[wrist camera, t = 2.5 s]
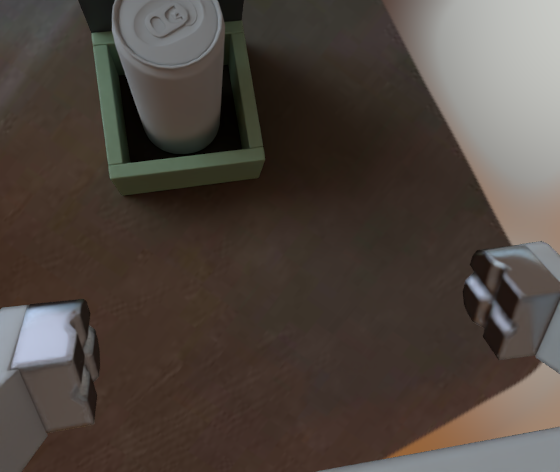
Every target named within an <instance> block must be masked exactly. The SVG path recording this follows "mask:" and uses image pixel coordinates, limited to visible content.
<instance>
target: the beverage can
mask: <svg viewBox="0 0 560 472" xmlns="http://www.w3.org/2000/svg"><path fill="white" fill-rule="evenodd" d="M112 33H113V37H114V42H115V45H116V48H117V51H118V54H119V57H120V60H121V63H122V66H123V69H124V72H125V75H126V78H127V81H128V84H129V87H130V90H131V93H132V95H133V98H134V101H135V104H136V107H137V110H138V113H139V116H140V119H141V122H142V125H143V128H144V131H145V132H146V134H147V136H148V138H149V139H150V141H151V142H152V143H153V144H154V145H155V146H157V147H158V148H160V149H162V150H163V151H166V152H170V153H173V154H189V153H195V152H197V151H200V150H202V149H204V148H206V147H207V146H208V145H209V144H210V143H211V142H212V141H213V140H214V138H215V137H216V135H217V132H218V129H219V126H220V111H221V94H222V76H223V59H224V41H225V23H224V19H223V15H222V11H221V9H220V5H219V2H218V0H115V2H114V4H113V11H112Z"/></svg>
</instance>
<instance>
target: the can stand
mask: <svg viewBox="0 0 560 472" xmlns="http://www.w3.org/2000/svg"><path fill="white" fill-rule="evenodd" d="M78 1H79V3H80V6H81V8H82V11H83V13H84V16H85V18H86V21H87V23H88V26H89V28H90V30H91V33H92V34H91V35H92V43H93V51H94V59H95V66H96V74H97V82H98V90H99V97H100V105H101V113H102V121H103V128H104V136H105V144H106V152H107V159H108V165H109V175H110V179H111V181H112V182H113V184H114V185H115V186H116V188H117V189H118V191H119V192H120V194H121V195H122V196H124V195H132V194H140V193H147V192H155V191H163V190H170V189H178V188H186V187H193V186H201V185H209V184H216V183H224V182H231V181H239V180H247V179H254V178H259V176H260V173H261V170H262V167H263V164H264V162H265V154H264V148H263V142H262V136H261V130H260V124H259V118H258V113H257V107H256V101H255V95H254V89H253V83H252V77H251V71H250V65H249V60H248V54H247V48H246V42H245V36H244V30H243V24H242V12H243V3H244V0H218V2H219V5H220V9H221V11H222V15H223V19H224V23H225V41H224V59H223V65H228V68H229V74H230V80H231V86H232V92H233V98H234V104H235V110H236V116H237V122H238V129H239V135H240V141H241V147H242V149H241V150H233V151H225V152H216V153H208V154H200V155H192V156H183V157H175V158H167V159H159V160H151V161H142V162H134V163H130V155H129V148H128V141H127V133H126V126H125V118H124V111H123V104H122V96H121V89H120V81H119V76H118V75H125V72H124V69H123V66H122V63H121V60H120V57H119V54H118V51H117V48H116V45H115V42H114V37H113V33H112V11H113V4H114V2H115V0H78Z"/></svg>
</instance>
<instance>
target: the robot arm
mask: <svg viewBox="0 0 560 472" xmlns="http://www.w3.org/2000/svg"><path fill="white" fill-rule="evenodd" d="M470 266H471V267H472V269H473V271H474V272H473V273H472V274H471V275H470V276H469V277H468V279H467V280H466V281H465V285H464V289H463V299H464V305H465V308H466V311H467V313H468V315H469V316H470V318H471V320H472V321H473V322H474V323H476V324H478V325H480V326H481V327H483V328H484V334H483V338H484V339H485V341H486V342H487V344H488V345H489V346H490V348H491V349H492V351H493V352H494V354H495V355H496V357H497V358H498V360H503V359H510V358H518V357H526V356H533V355H536V358H537V359H539V360H540V361H542V362H543V363H545V364H546V365H548V366H549V367H550V368H552V369H553V370H555V371H556V372H558V373H559V374H560V255H559V254H558V253H557V252H556V251H555V250H554V249H553V248H552V247H551V246H550V245H549V244H547V243H545V242H542V241H540V242H532V243H526V244H520V245H514V246H506V247H498V248H491V249H483V250H477V251H476V252H475V253H474V255H473V256H472V259H471V263H470ZM89 321H90V311H89V308H88V305H87V302H86V301H85V300H84V299H77V300H68V301H58V302H48V303H38V304H30V305H23V306H13V307H3V308H1V309H0V472H22V470H23V469H24V467H25V466H26V465H27V463H28V462H29V461H30V459H31V458H32V456H33V455H34V454H35V452H36V451H37V449H38V448H39V447H40V445H41V444H42V443H43V441H44V440H45V438H46V437H47V433H50V432H56V431H61V430H66V429H72V428H77V427H82V426H88V425H93V424H94V420H95V410H96V401H97V393H96V390H95V387H94V383H93V382H94V381H95V380H96V379H97V378H98V377H99V370H100V351H99V344H98V338H97V335H96V331H95V329H93V328H92V327H90V326H89ZM317 472H560V427H556V428H551V429H545V430H539V431H534V432H529V433H523V434H518V435H512V436H508V437H502V438H497V439H491V440H485V441H480V442H475V443H469V444H464V445H459V446H453V447H448V448H442V449H437V450H431V451H426V452H421V453H415V454H410V455H404V456H399V457H393V458H388V459H382V460H377V461H371V462H366V463H360V464H355V465H349V466H344V467H339V468H333V469H328V470H322V471H317Z"/></svg>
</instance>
